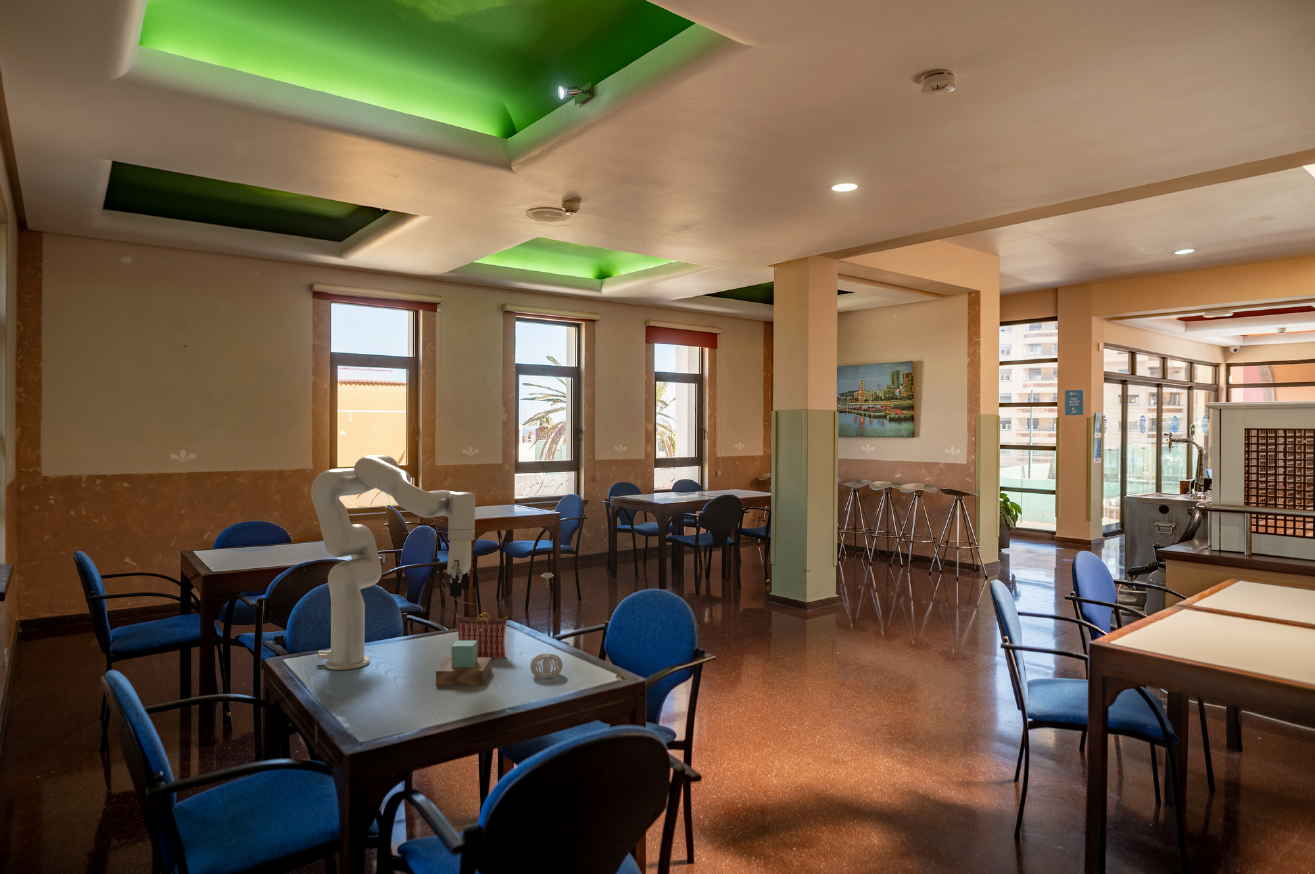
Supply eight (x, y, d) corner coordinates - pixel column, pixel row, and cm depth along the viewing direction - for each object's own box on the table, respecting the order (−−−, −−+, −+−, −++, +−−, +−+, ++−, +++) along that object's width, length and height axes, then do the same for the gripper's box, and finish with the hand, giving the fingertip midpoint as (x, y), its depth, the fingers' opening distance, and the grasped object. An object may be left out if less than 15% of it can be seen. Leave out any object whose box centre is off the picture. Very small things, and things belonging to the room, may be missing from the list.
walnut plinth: (435, 685, 205) (436, 671, 205) (447, 671, 218) (447, 657, 218) (482, 684, 206) (482, 670, 206) (491, 670, 219) (491, 657, 219)
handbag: (446, 653, 236) (447, 576, 237) (509, 655, 234) (509, 577, 235) (437, 660, 229) (438, 580, 229) (502, 662, 227) (502, 581, 227)
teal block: (451, 667, 209) (451, 646, 209) (456, 660, 215) (456, 640, 215) (472, 667, 209) (472, 645, 209) (477, 660, 215) (477, 640, 215)
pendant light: (568, 673, 216) (569, 572, 216) (551, 683, 208) (552, 577, 208) (542, 669, 220) (542, 569, 220) (523, 678, 212) (524, 574, 212)
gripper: (455, 530, 223) (454, 586, 223) (440, 538, 206) (438, 599, 206) (480, 531, 223) (479, 587, 223) (467, 538, 206) (465, 599, 206)
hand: (459, 592), depth 214 cm, fingers open, 9 cm apart
